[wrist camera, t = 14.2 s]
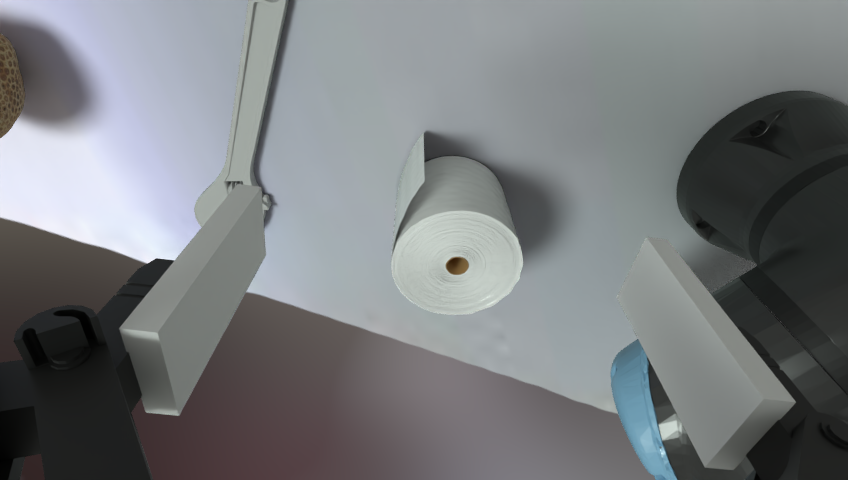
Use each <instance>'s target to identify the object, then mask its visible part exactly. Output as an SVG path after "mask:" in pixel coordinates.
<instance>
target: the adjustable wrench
mask: <svg viewBox="0 0 848 480" xmlns="http://www.w3.org/2000/svg"><path fill="white" fill-rule="evenodd" d="M288 2H289V0H248V8H247V15H246V22H245V29H244V36H243V43H242V50H241V57H240V65H239V72H238V79H237V86H236V93H235V100H234V107H233V114H232V122H231V129H230V136H229V143H228V150H227V157H226V162H225V165H224V168H223V169H222V171H221V173H220V174H219V176H218V177H217V179H216V180H215V181H214V182H213V183H212V184H211V185H210V186H209V187H208V188H207V189H206V190H205V191H204V192H203V193H202V194H201V196H200V197H199V198H198V200H197V201H196V204H195V208H194V212H195V216H196V219H197V221H198V223H199V225H200V226H201V227H203V225H204V224H205V223H206V222H207V221H208V219H209V218H210V217H211V216H212V214H213V213H214V212H215V211H216V210H217V208H218V207H219V206H220V205H221V204H222V202H223V201H224V200H225V199H226V197H227V196H228V195H229V194H230V193H231V191H232V190H233V189H234V188H235V186H236V185H237V184H242V185H249V186H257V187H259V186H258V184H257V182H256V179H255V176H254V159H255V155H256V150H257V145H258V141H259V136H260V132H261V127H262V122H263V118H264V113H265V108H266V104H267V99H268V94H269V90H270V85H271V81H272V76H273V71H274V67H275V62H276V57H277V53H278V48H279V44H280V39H281V34H282V30H283V25H284V20H285V16H286V11H287V6H288ZM231 181H232V182H231ZM235 181H236V182H235ZM271 204H272V203H271V201H270V200H269V195H264V194H263V193H262V206H263V220H264V218H265V215H266V211H267V210H269V208H270V206H271Z"/></svg>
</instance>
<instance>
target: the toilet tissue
mask: <svg viewBox="0 0 848 480" xmlns="http://www.w3.org/2000/svg"><path fill="white" fill-rule="evenodd" d="M394 220H395V224H394V232H393V234H394V235H393V244H392V255H391V260H392V261H391V268H392V276H393V278H394V281H395V283H396V285H397V287H398V288H399V290H400V291H401V293H402V294H403V295H404V296H405V297H406V298H407V299H408V300H409V301H411V302H412V303H414V304H415V305H417V306H419V307H421V308H423V309H426V310H428V311H431V312H435V313H439V314H448V315H460V314H471V313H474V312H477V311H480V310H483V309H486V308H489V307H492V306H493V305H494V304H496V303H497V302H498V301H500V300H501V299H502V298H504V297H505V296H506V295H508V294H509V293H510V292H511V290H512V289H513V287H514V286H515V284H516V283H517V281H518V280H519V279H520V273H521V270H522V267H523V257H522V251H521V244H520V242H519V238H518V237H517V234H516V229H515V227H514V225H513V221H512V216H511V214H510V210H509V208H508V206H507V201H506V198H505V195H504V192H503V188H502V186H501V185H500V183H499V181H498V179H497V178H496V176H495V175H494V174H493V173H492V172H491V171H490V170H489V169H488V168H487V167H486V166H484V165H482V164H481V163H479V162H477V161H475V160H472V159H469V158H466V157H459V156H444V157H439V158H435V159H431V160H429V161H427V162H425V163H424V132H423V134H422V135H421V136H420V137H419V139H418V141H417V143H416V144H415V146H414V147H413V149H412V150H411V153H410V156H409V158H408V160H407V163H406V165H405V167H404V170H403V173H402V176H401V179H400V183H399V188H398V193H397V201H396V211H395V219H394Z"/></svg>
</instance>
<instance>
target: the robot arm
mask: <svg viewBox="0 0 848 480" xmlns="http://www.w3.org/2000/svg"><path fill="white" fill-rule="evenodd" d="M677 202H678V207H679V210H680V212H681V214H682V216H683V218H684V219H685V220H686V222H687V223H688V224H689V225H690V226H691V227H692V228H693V229H694V230H695V232H696V233H697V234H698V235H700V236H701V237H702V238H703V239H705V240H706V241H708V242H709V243H711V244H713V245H715V246H718V247H720V248H722V249H725V250H727V251H729V252H731V253H734V254H736V255H738V256H741V257H743V258H745V259H747V260H750V261H752V262H754V263H756V264H757V265H758V266H756V267H755V268H753V269H752V270H750V271H748V272H747V273H745V274H743V275H742V276H740V277H738V278H736V279H735V280H733V281H732V282H730V283H729V284H727V285H725V286H724V287H722V288H720V289H719V290H717V291H715V292H714V293H712V294H710V293H709V292H708V290H707V289H706V288H705V287H704V285H703V284H702V283H701V282H700V280H699V279H698V278H697V276H696V275H695V274H694V273H693V271H692V270H691V269H690V268H689V266H688V265H687V264H686V263H685V261H684V260H683V259H682V258H681V256H680V255H679V254H678V252H677V251H676V250H675V249H674V247H673V246H672V245H671V244H670V242H669V241H668V240H666V239H658V238H650V237H646V238H645V240H644V242H643V244H642V246H641V248H640V251H639V253H638V255H637V257H636V259H635V261H634V263H633V265H632V267H631V269H630V271H629V273H628V275H627V277H626V279H625V281H624V283H623V285H622V287H621V290H620V292H619V294H618V296H617V299H618V301H619V303H620V305H621V307H622V309H623V311H624V313H625V315H626V317H627V318H628V320H629V322H630V324H631V326H632V328H633V330H634V332H635V334H636V336H637V338H638V339H637V340H636V341H634V342H633V343H631V344H630V345H628V346H627V347H625V348H624V349H623V350H621V351H620V352H619V353H618V354H617V355H616V357H615V359H614V361H613V363H612V367H611V387H612V393H613V397H614V401H615V405H616V408H617V411H618V414H619V417H620V420H621V422H622V424H623V427H624V429H625V431H626V434H627V436H628V438H629V440H630V442H631V444H632V446H633V448H634V450H635V452H636V453H637V455H638V457H639V459H640V460H641V462H642V463H643V465H644V467H645V468H646V469H647V471H648V472H649V473H650V474H652V475H654V477H655V479H656V480H848V395H847V394H848V106H847V105H845V104H843V103H841V102H838V101H836V100H833V99H831V98H829V97H826V96H824V95H821V94H818V93H813V92H807V91H789V92H782V93H777V94H773V95H769V96H766V97H763V98H760V99H757V100H755V101H753V102H750V103H748V104H746V105H744V106H742V107H740V108H739V109H737V110H735V111H734V112H732V113H731V114H729V115H727V116H726V117H725V118H723V119H722V120H721V121H719V122H718V123H717V124H716V125H715V126H713V127H712V128H711V129H710V130H709V131H708V132H707V133H706V134H705V135H704V136H703V137H702V138H701V140H700V141H699V142H698V143H697V144H696V146H695V147H694V149H693V150H692V151H691V153H690V155H689V156H688V158H687V160H686V162H685V163H684V166H683V168H682V170H681V173H680V176H679V180H678V185H677ZM265 256H266V250H265V235H264V220H263V206H262V191H261V187H257V186H249V185H242V184H237V185H236V186H235V188H234V189H233V190H232V191H231V193H230V194H229V195H228V196H227V197H226V199H225V200H224V201H223V202H222V204H221V205H220V206H219V207H218V208H217V210H216V211H215V212H214V213H213V214H212V216H211V217H210V218H209V219H208V221H207V222H206V223H205V224H204V225H203V227H202V228H201V229H200V230H199V232H198V233H197V234H196V235H195V236H194V238H193V239H192V240H191V241H190V243H189V244H188V245H187V246H186V247H185V249H184V250H183V251H182V252H181V253H180V255H179V256H178V257H177V258H176V260H175V261H173V260H165V259H155V260H153V261H151V262H150V263H148V264H146V265H144V266H143V267H141V268H139V269H138V270H137V271H136V272H135V273H134V274H133V275H132V277H131V278H130V279H129V280H128V281H127V284H126V285H123V287H122V288H121V289H120V290H119V291H118V292H117V295H116V296H113V297H112V298H111V300H110V301H109V302H108V303H107V304H106V305H105V306H104V307H103V308H102V310H101V311H100V312H99V313H98V314H97V315H96V314H95V312H94V311H93V310H92V309H89V308H87V307H84V306H74V305H67V306H61V307H56V308H52V309H49V310H46V311H44V312H41V313H38V314H36V315H35V316H33V317H32V318H30V319H29V320H27V321H25V322H24V323H23V324H22V325H21V326H20V328H19V329H18V330H17V331H16V334H15V338H14V342H15V344H16V346H17V348H18V350H19V352H20V354H21V356H22V358H23V360H17V361H10V362H2V363H0V480H20V477H21V472H22V468H23V464H24V460H25V457H26V456H30V455H36V454H41V456H42V463H43V469H44V476H45V480H153V478H152V475H151V472H150V469H149V466H148V463H147V460H146V456H145V453H144V450H143V447H142V445H141V441H140V438H139V435H138V432H137V429H136V426H135V423H134V420H133V417H132V414H131V412H132V410H133V409H134V407H135V406H136V404H137V403H138V401H139V399H140V398H142V402H143V405H144V408H145V411H146V412H148V413H158V414H168V415H178V416H179V415H180V413H181V411H182V409H183V407H184V405H185V404H186V402H187V400H188V398H189V396H190V394H191V392H192V391H193V389H194V387H195V385H196V383H197V381H198V379H199V378H200V376H201V374H202V372H203V370H204V368H205V367H206V365H207V363H208V361H209V359H210V357H211V355H212V353H213V352H214V350H215V348H216V346H217V344H218V343H219V341H220V339H221V337H222V335H223V333H224V331H225V330H226V328H227V326H228V324H229V322H230V320H231V318H232V316H233V315H234V313H235V311H236V309H237V307H238V305H239V304H240V302H241V300H242V298H243V296H244V295H245V293H246V291H247V289H248V287H249V285H250V283H251V282H252V280H253V278H254V276H255V274H256V272H257V270H258V269H259V267H260V265H261V263H262V261H263V259H264V258H265ZM749 288H750V289H751V290H750V289H749ZM762 302H763V303H764V304H765V305H766V306H767V307H768V308H769V309H770V310H769V309H768V308H767V307H766V306H765V305H764V304H763V303H762ZM775 316H776V317H777V318H778V319H779V320H780V321H781V322H782V323H781V322H780V321H779V320H778V319H777V318H776V317H775ZM787 329H788V330H789V331H790V332H791V333H792V334H791V333H790V332H789V331H788V330H787ZM799 342H800V343H801V344H802V345H803V346H802V345H801V344H800V343H799ZM811 355H812V356H813V357H812V356H811ZM822 367H823V368H824V369H823V368H822ZM846 393H847V394H846Z"/></svg>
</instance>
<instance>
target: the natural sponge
mask: <svg viewBox="0 0 848 480" xmlns="http://www.w3.org/2000/svg"><path fill="white" fill-rule="evenodd" d="M24 100H25V90H24V85H23V79H22V75H21V73H20V70H19V65H18V59H17V55H16V52H15V50H14V48H13V46H12V44H11V42H10V41H9V40H8V39H7V38H6V37H5V36H4V35H2V34H1V33H0V138H1V137H3V136H4V135H5V134H6V133H7V132H8V131H9V130H10V129H11V127H12V126H13V124H14V123H15V121H16V120H17V118H18V117H19V115H20V114H21V111H22V109H23V106H24Z"/></svg>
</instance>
